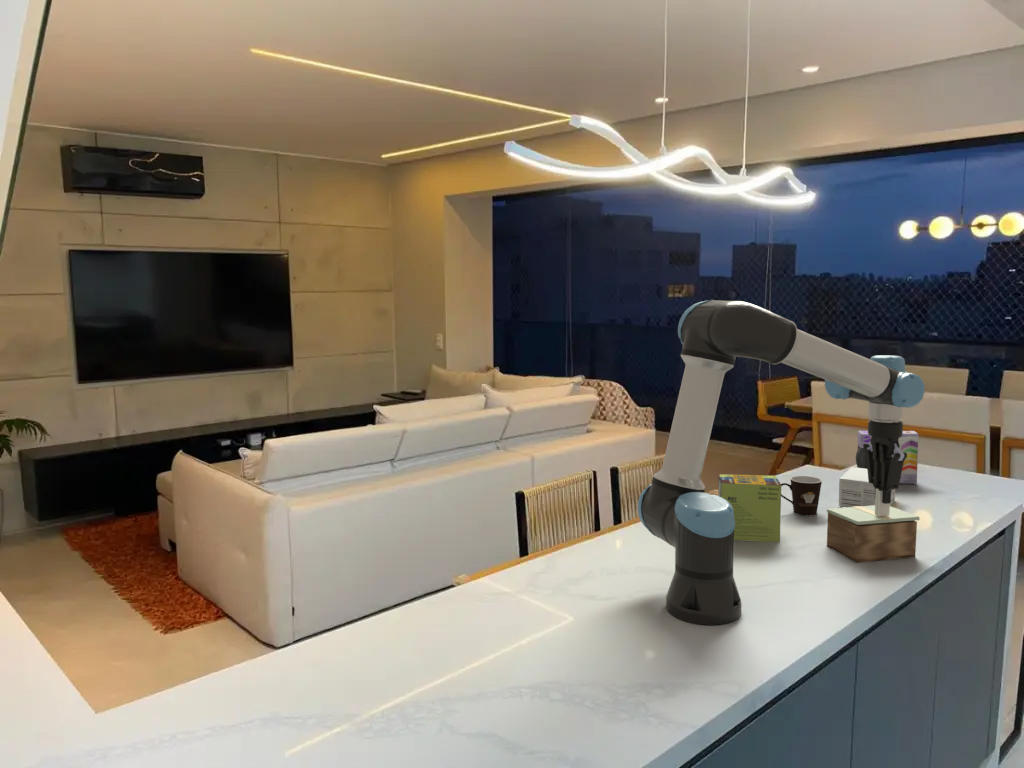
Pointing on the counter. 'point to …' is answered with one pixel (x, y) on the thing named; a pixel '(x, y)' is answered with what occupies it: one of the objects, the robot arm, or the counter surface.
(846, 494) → the supplement box
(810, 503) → the coffee mug
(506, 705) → the counter surface
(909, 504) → the counter surface
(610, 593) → the counter surface
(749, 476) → the protein box
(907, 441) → the cake pan box
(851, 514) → the lid
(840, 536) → the crate
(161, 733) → the counter surface
